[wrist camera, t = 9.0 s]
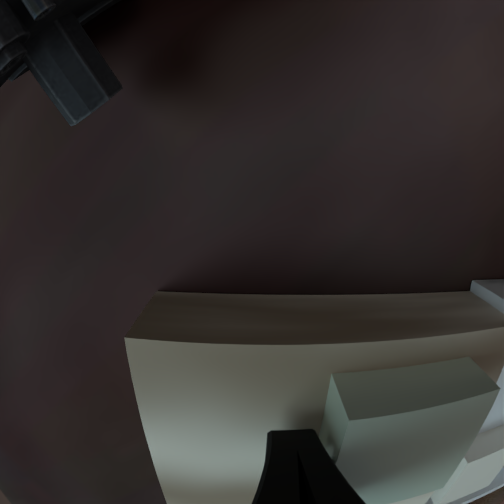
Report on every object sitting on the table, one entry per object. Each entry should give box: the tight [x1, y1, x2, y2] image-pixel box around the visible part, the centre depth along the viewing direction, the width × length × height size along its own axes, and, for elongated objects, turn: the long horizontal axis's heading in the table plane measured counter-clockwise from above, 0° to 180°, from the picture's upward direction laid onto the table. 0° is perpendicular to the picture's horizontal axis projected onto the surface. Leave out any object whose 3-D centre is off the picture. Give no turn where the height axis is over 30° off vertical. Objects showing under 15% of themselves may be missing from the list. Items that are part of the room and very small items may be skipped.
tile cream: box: [431, 424, 504, 504], centre depth 13 cm, size 5×5×2 cm
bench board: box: [124, 291, 504, 504], centre depth 12 cm, size 16×13×4 cm
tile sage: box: [319, 357, 501, 504], centre depth 8 cm, size 5×5×2 cm
